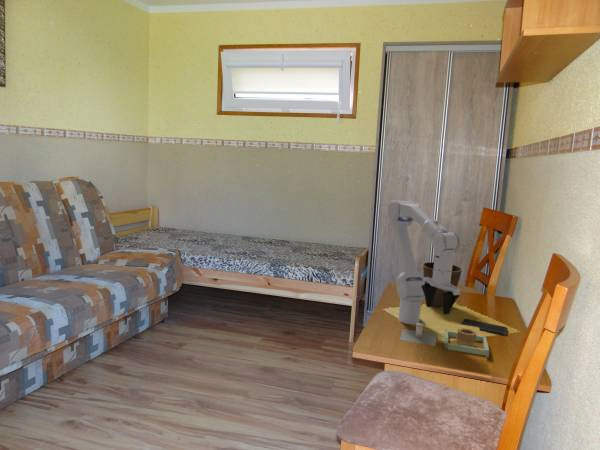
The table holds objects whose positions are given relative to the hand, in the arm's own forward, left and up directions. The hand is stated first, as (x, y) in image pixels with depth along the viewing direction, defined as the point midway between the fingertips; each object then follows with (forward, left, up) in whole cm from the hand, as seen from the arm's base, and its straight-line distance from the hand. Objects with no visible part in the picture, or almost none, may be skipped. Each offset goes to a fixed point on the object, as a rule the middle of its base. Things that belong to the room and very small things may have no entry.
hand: (437, 310), depth 160 cm
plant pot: (-39, +1, -10) cm, 40 cm away
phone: (-19, +17, -10) cm, 27 cm away
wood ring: (+4, +9, -9) cm, 14 cm away
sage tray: (+4, +10, -9) cm, 14 cm away
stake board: (+4, -5, -9) cm, 11 cm away
